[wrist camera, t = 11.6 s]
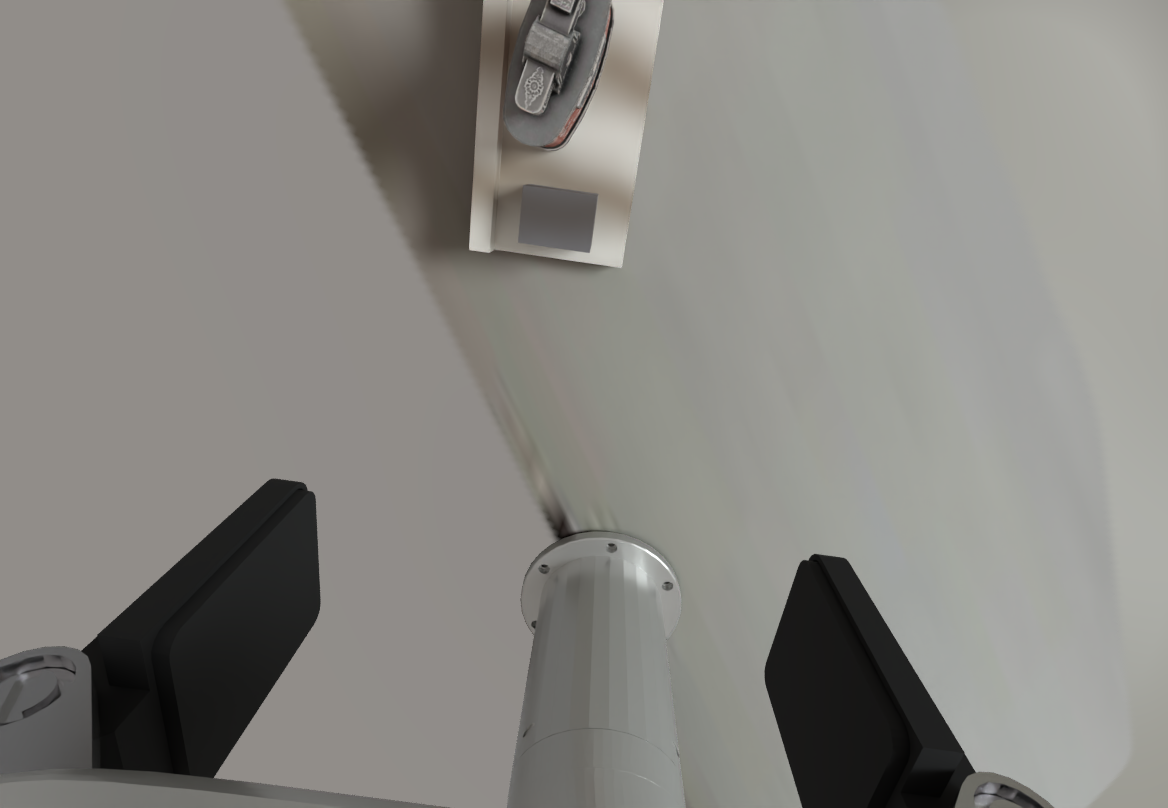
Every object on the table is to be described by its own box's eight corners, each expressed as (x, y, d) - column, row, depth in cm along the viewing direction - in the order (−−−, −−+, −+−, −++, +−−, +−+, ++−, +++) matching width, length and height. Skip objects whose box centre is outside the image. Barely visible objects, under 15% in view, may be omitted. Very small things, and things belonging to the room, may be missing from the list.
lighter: (568, 161, 33) (552, 158, 24) (513, 135, 33) (474, 122, 23) (628, 7, 30) (636, -65, 21) (568, -23, 30) (549, -110, 20)
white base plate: (621, 264, 37) (622, 276, 32) (479, 243, 36) (462, 253, 32) (684, -139, 29) (696, -190, 25) (506, -166, 29) (488, -222, 25)
